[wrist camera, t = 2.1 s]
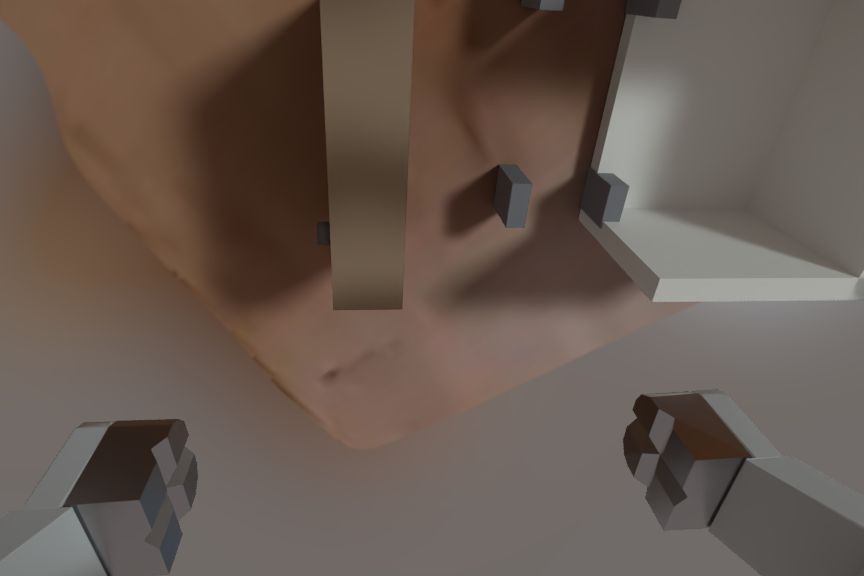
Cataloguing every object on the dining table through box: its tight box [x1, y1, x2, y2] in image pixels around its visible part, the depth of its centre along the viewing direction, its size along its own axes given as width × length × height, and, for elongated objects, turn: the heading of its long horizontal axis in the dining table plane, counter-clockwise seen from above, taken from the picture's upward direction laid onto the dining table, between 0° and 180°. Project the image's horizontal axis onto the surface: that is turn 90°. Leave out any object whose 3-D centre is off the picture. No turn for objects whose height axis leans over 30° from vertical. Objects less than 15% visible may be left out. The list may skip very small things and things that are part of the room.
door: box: [317, 0, 415, 310], centre depth 22 cm, size 12×4×8 cm, turn 176°
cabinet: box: [493, 0, 864, 302], centre depth 23 cm, size 14×16×9 cm
